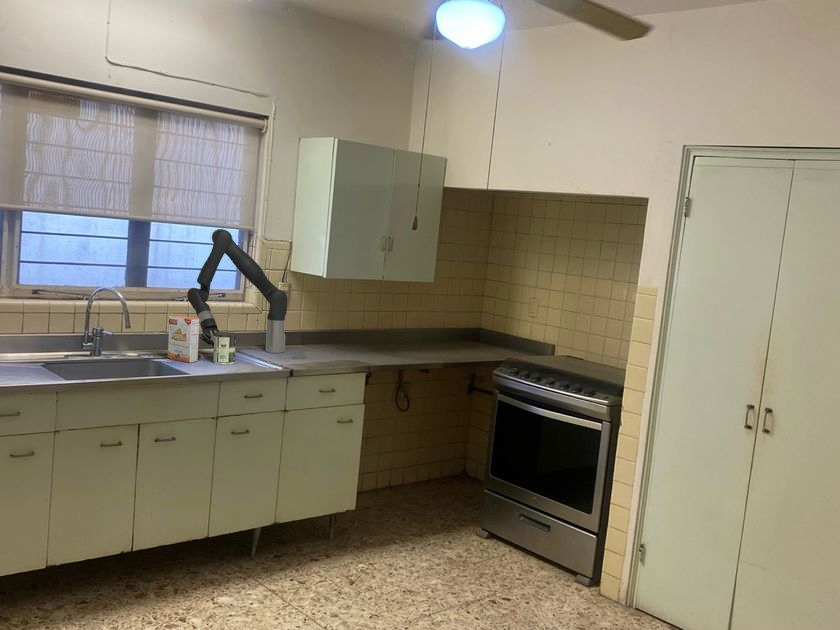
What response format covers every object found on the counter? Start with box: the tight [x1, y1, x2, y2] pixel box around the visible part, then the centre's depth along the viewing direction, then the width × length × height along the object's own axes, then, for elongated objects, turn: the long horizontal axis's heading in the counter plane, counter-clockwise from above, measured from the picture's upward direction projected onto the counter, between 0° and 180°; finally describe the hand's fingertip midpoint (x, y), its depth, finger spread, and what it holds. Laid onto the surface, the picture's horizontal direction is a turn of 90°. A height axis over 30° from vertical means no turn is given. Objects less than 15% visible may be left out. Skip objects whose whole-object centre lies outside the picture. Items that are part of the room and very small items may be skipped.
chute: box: [198, 352, 204, 361], centre depth 389 cm, size 16×10×2 cm, turn 131°
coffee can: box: [213, 331, 237, 365], centre depth 378 cm, size 10×10×14 cm
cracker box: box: [167, 314, 200, 364], centre depth 375 cm, size 14×6×21 cm, turn 62°
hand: (217, 350), depth 383 cm, fingers closed
